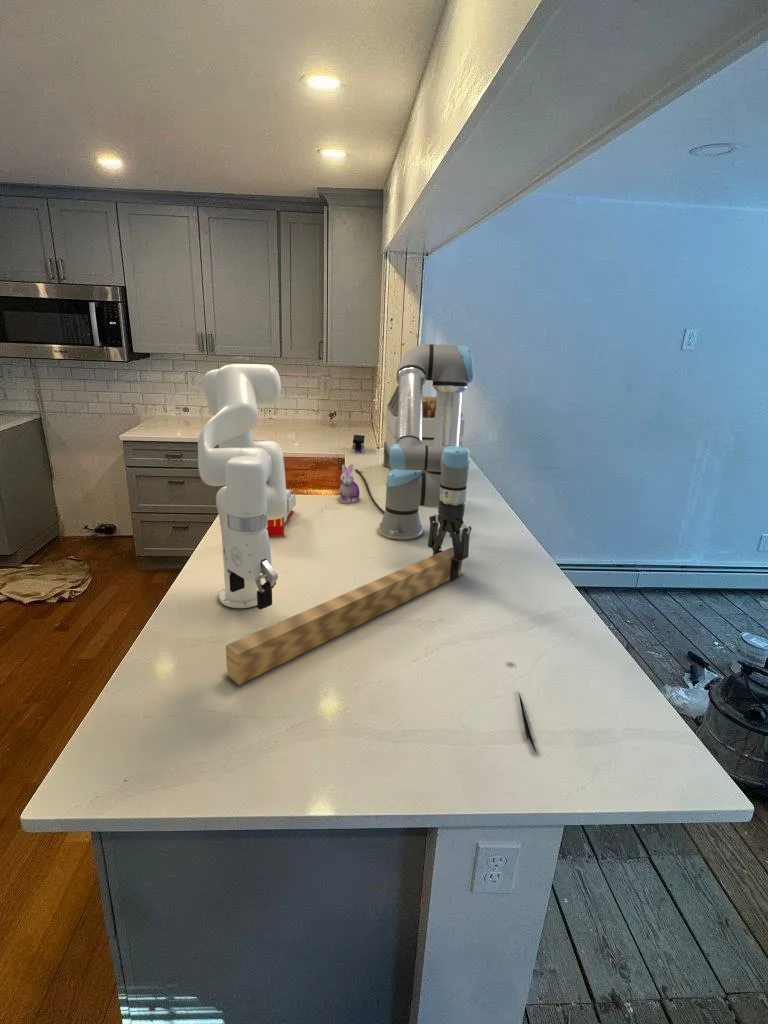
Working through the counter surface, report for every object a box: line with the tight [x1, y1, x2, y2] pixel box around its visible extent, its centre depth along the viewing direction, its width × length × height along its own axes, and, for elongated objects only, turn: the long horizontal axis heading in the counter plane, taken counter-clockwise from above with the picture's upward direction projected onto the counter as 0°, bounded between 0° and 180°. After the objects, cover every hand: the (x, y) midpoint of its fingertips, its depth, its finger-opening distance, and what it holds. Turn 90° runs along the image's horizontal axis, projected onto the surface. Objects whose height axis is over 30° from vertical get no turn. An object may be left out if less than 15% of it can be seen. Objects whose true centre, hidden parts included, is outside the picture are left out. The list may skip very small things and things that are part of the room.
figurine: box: [338, 463, 361, 504], centre depth 229 cm, size 9×10×15 cm
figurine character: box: [351, 434, 365, 454], centre depth 311 cm, size 7×8×15 cm
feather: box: [517, 691, 537, 753], centre depth 115 cm, size 2×28×2 cm
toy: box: [267, 489, 297, 537], centre depth 204 cm, size 12×13×30 cm
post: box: [225, 546, 463, 686], centre depth 144 cm, size 78×4×8 cm, turn 137°
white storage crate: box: [383, 384, 465, 472], centre depth 268 cm, size 34×33×41 cm
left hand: (250, 598), depth 116 cm, fingers open, 9 cm apart
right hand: (445, 574), depth 169 cm, fingers open, 6 cm apart
